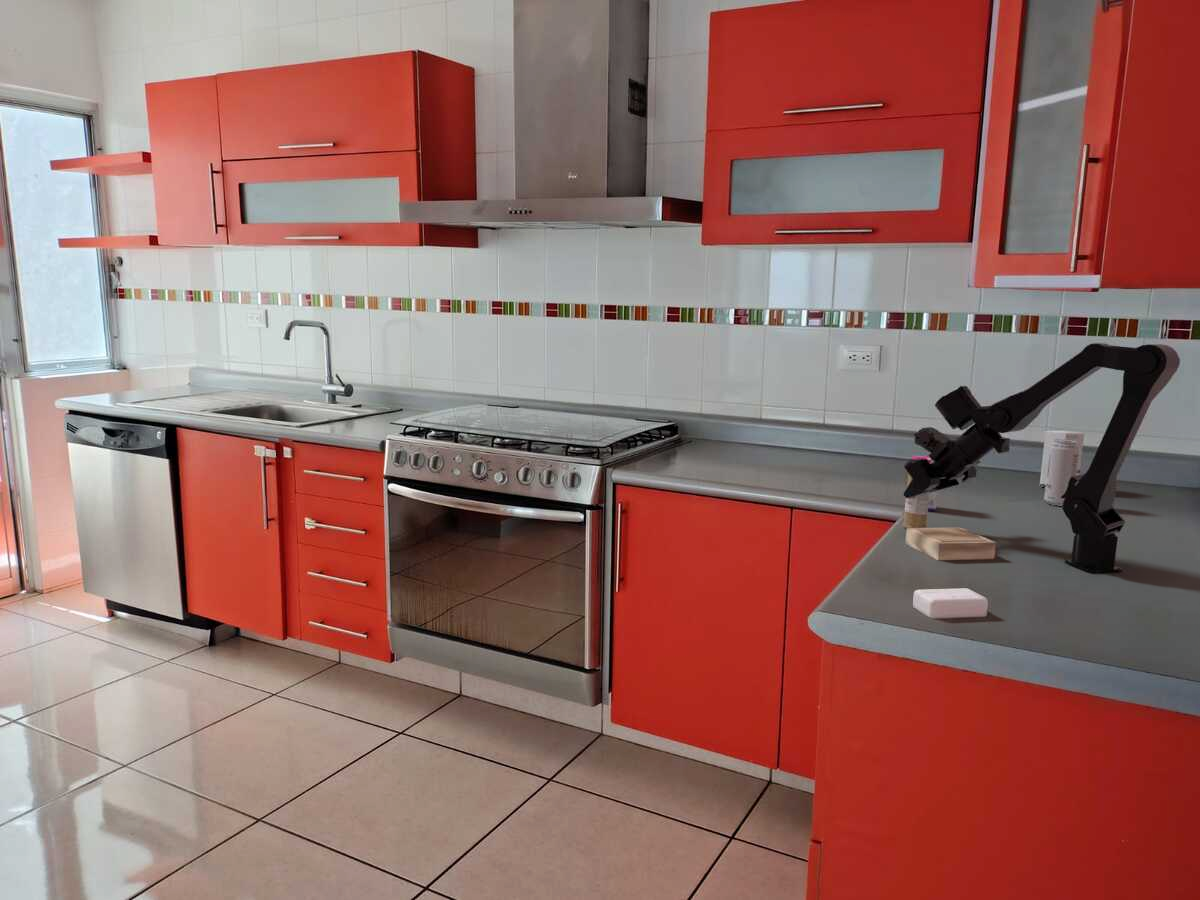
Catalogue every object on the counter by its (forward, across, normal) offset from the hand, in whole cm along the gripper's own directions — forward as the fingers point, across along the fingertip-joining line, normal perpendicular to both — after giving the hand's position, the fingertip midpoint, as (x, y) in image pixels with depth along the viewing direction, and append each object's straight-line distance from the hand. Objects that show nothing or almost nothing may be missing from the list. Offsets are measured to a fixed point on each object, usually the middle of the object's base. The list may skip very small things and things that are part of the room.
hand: (911, 494), depth 180 cm
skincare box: (+5, -73, +4) cm, 73 cm away
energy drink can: (-1, -52, +10) cm, 53 cm away
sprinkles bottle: (+4, 0, +6) cm, 7 cm away
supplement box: (+11, -19, -1) cm, 22 cm away
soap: (-18, +43, +28) cm, 54 cm away
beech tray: (-6, +11, +15) cm, 20 cm away
